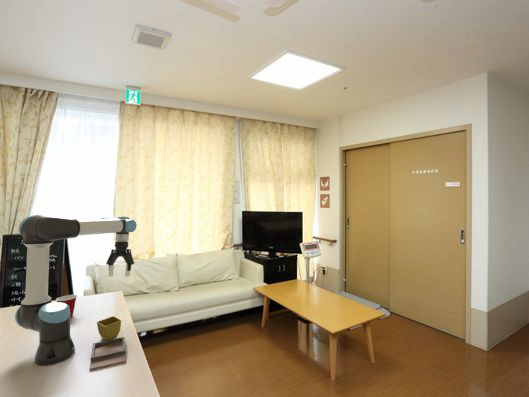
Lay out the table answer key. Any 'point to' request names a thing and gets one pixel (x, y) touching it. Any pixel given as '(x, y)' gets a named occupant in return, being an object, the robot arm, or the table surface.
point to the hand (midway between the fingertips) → (118, 276)
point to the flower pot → (109, 327)
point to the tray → (108, 353)
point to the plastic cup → (68, 302)
